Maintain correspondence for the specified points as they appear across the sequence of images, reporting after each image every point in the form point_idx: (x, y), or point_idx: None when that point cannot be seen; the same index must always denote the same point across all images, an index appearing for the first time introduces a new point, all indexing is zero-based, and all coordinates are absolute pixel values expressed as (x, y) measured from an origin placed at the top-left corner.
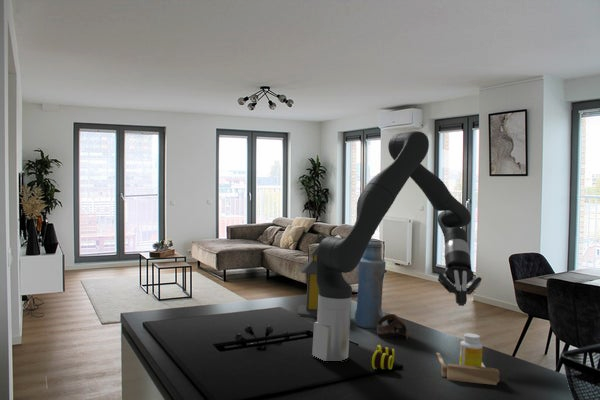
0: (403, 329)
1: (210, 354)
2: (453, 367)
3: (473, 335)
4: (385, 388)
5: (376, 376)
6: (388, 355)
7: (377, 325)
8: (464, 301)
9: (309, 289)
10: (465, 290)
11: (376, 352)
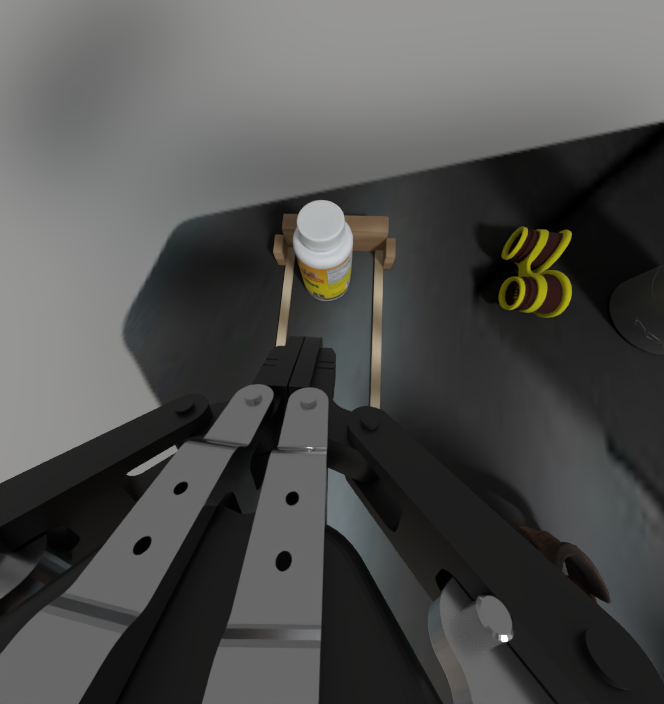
0: None
1: None
2: (377, 218)
3: (315, 220)
4: (505, 175)
5: (526, 224)
6: (531, 236)
7: (604, 583)
8: (291, 336)
9: None
10: (247, 388)
11: (567, 231)
